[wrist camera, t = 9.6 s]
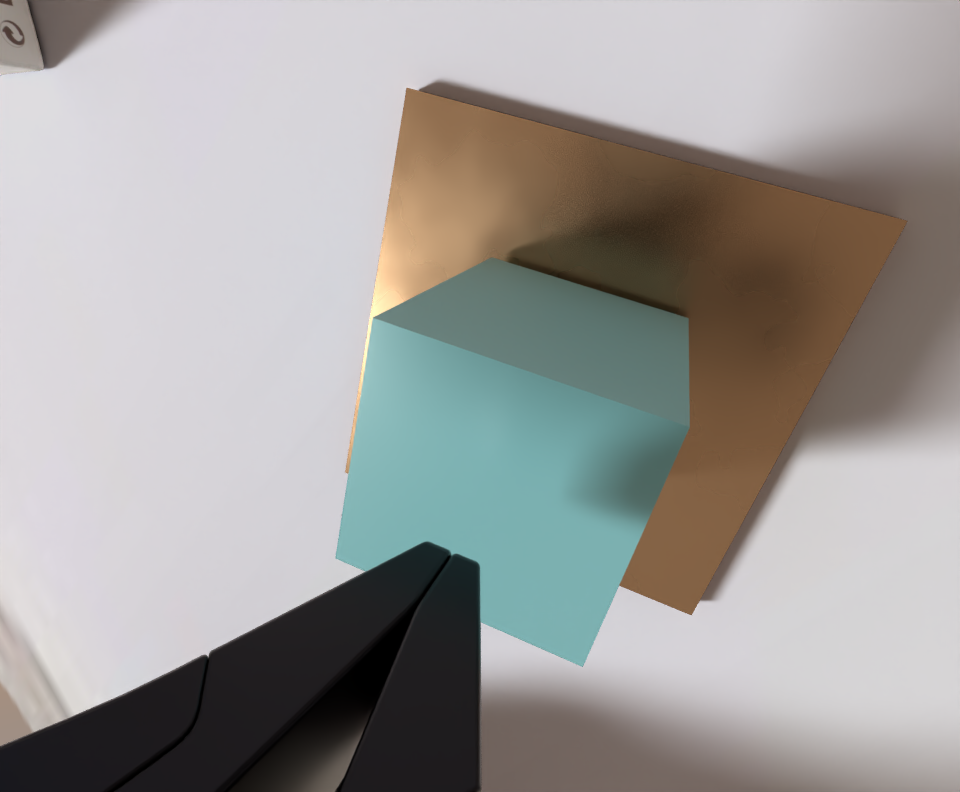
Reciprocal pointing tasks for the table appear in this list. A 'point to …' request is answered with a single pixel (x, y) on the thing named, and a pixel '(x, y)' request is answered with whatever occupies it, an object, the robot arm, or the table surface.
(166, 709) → the robot arm
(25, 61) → the skincare box
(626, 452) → the teal rectangular block
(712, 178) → the brown square base plate
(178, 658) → the table surface
